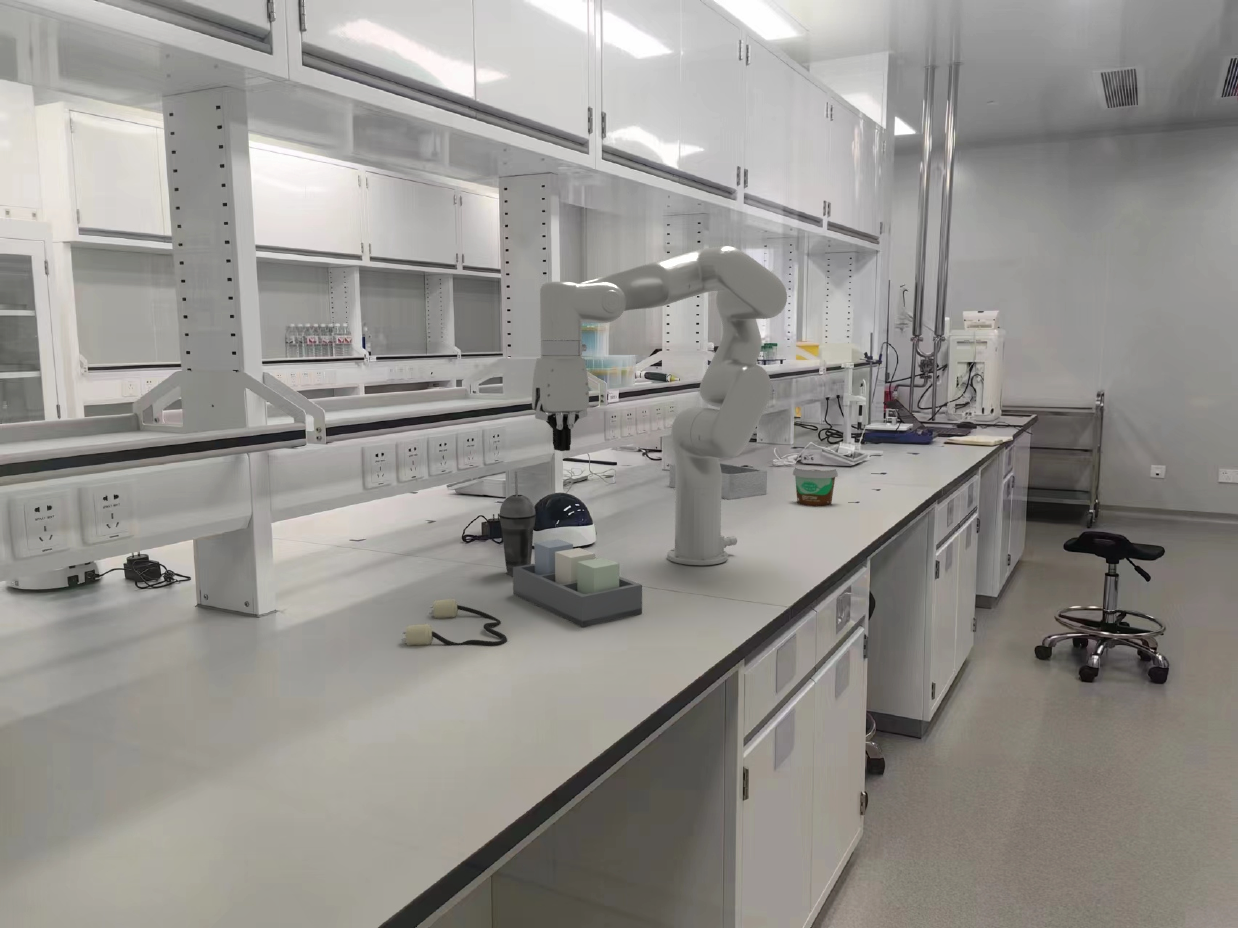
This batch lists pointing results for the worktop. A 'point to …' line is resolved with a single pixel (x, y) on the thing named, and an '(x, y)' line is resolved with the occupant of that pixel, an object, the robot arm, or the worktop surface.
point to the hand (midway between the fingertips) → (561, 449)
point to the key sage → (597, 575)
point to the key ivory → (569, 564)
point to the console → (577, 597)
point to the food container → (814, 486)
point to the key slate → (548, 555)
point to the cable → (446, 610)
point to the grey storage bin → (736, 481)
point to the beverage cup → (517, 529)
